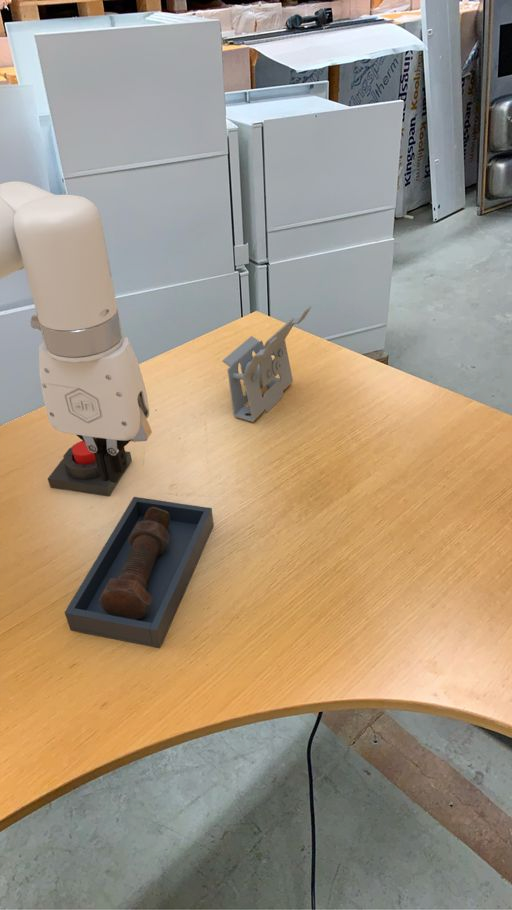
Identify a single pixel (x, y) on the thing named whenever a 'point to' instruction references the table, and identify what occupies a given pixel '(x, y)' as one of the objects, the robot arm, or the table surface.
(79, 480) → the station
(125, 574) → the bolt
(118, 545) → the tray
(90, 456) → the power button
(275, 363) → the bracket
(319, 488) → the table surface
